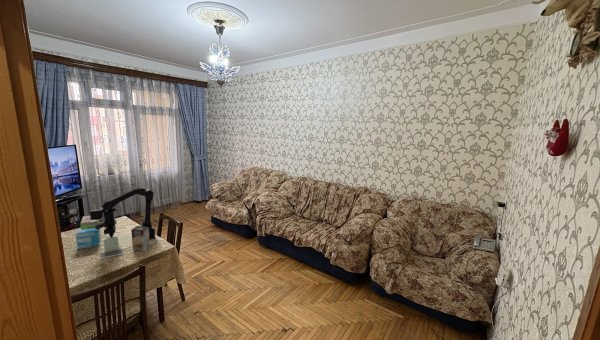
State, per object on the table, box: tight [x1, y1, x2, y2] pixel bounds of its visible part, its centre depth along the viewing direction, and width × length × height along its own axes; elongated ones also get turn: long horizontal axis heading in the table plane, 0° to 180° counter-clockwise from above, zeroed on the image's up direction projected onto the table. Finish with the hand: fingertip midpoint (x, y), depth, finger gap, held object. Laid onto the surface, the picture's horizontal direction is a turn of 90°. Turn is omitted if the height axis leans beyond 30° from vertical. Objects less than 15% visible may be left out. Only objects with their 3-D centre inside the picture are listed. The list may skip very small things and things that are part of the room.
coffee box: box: [131, 225, 151, 252], centre depth 180 cm, size 9×6×16 cm
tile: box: [103, 235, 120, 251], centre depth 178 cm, size 8×2×9 cm, turn 123°
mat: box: [99, 247, 123, 261], centre depth 173 cm, size 12×10×1 cm
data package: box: [75, 228, 100, 249], centre depth 180 cm, size 12×4×12 cm, turn 126°
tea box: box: [79, 215, 101, 235], centre depth 193 cm, size 15×10×15 cm
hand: (111, 237), depth 181 cm, fingers closed
